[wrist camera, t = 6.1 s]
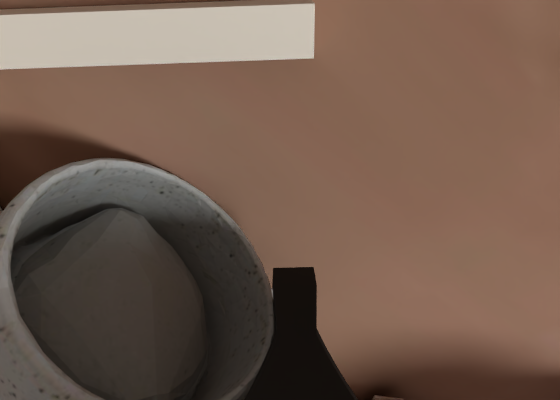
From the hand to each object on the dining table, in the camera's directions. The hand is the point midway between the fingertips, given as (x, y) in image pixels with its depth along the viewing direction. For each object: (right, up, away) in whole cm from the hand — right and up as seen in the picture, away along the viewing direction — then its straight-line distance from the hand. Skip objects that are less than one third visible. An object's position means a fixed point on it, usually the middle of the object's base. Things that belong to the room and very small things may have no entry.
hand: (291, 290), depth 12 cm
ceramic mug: (-5, 0, +3) cm, 6 cm away
